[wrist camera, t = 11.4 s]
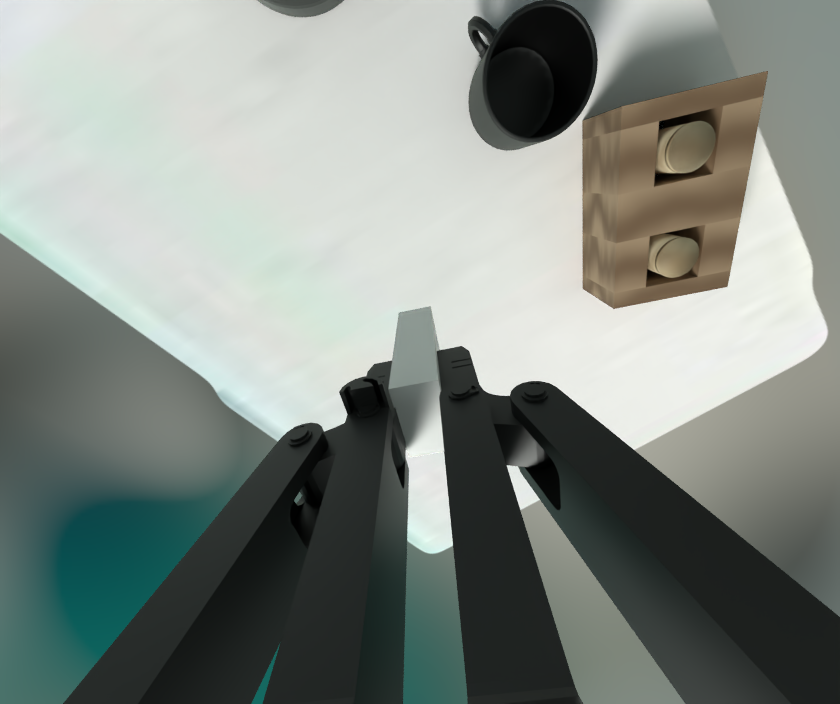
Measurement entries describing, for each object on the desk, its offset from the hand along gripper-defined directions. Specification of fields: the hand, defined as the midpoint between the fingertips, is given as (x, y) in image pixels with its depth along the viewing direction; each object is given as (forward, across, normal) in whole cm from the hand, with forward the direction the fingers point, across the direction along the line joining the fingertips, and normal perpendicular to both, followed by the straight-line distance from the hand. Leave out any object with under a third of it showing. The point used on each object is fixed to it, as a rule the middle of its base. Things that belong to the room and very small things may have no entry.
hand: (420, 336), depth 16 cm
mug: (+30, +12, +13) cm, 34 cm away
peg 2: (+29, +26, -6) cm, 39 cm away
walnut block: (+29, +26, -1) cm, 39 cm away
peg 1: (+29, +26, +4) cm, 39 cm away
